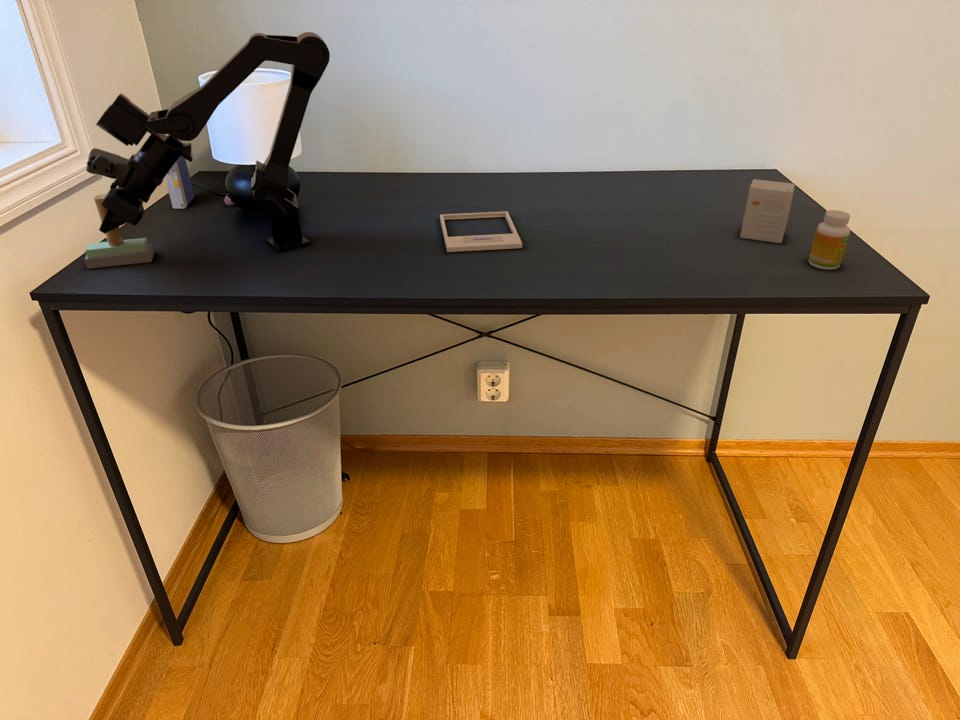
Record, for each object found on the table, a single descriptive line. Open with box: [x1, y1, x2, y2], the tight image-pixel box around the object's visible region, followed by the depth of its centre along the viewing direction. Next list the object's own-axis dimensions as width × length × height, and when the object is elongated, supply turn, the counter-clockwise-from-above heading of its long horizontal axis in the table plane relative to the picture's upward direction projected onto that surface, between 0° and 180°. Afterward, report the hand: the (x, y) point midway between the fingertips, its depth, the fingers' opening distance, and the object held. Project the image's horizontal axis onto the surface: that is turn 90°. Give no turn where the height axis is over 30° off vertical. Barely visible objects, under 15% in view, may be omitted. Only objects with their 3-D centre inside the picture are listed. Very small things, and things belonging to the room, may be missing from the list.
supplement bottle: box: [808, 209, 851, 271], centre depth 124 cm, size 5×5×10 cm
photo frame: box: [439, 210, 523, 253], centre depth 139 cm, size 15×1×18 cm
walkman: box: [164, 156, 195, 210], centre depth 153 cm, size 8×3×12 cm, turn 4°
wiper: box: [84, 193, 155, 270], centre depth 125 cm, size 11×4×12 cm, turn 106°
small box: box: [739, 178, 796, 244], centre depth 135 cm, size 8×6×10 cm
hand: (103, 228), depth 125 cm, fingers closed on wiper, 2 cm apart
